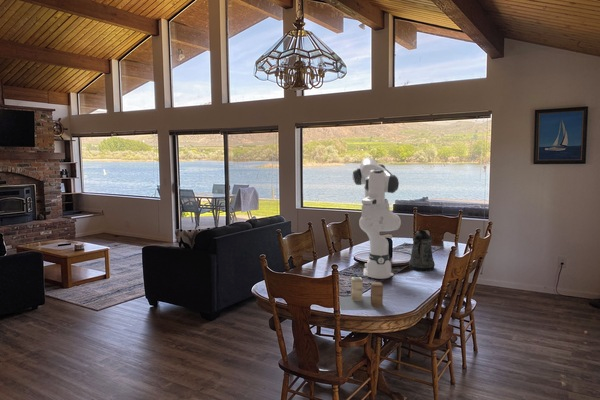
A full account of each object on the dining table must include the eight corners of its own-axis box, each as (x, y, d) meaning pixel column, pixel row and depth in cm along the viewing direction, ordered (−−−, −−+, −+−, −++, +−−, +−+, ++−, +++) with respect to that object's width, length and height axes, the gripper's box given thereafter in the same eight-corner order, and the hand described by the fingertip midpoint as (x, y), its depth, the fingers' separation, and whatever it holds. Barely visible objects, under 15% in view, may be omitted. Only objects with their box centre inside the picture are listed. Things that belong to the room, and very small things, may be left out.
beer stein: (432, 265, 295) (434, 229, 292) (436, 273, 276) (438, 234, 273) (407, 264, 298) (409, 228, 295) (409, 272, 279) (411, 233, 276)
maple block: (351, 297, 230) (351, 276, 229) (360, 297, 230) (361, 276, 229) (352, 300, 225) (353, 279, 224) (362, 300, 225) (362, 279, 224)
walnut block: (370, 303, 221) (371, 282, 220) (380, 303, 222) (380, 282, 220) (372, 306, 216) (373, 285, 215) (382, 306, 217) (383, 285, 215)
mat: (336, 297, 231) (336, 296, 231) (377, 297, 232) (377, 296, 232) (341, 310, 212) (341, 309, 212) (386, 310, 213) (386, 309, 213)
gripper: (383, 198, 242) (382, 222, 244) (359, 200, 228) (359, 226, 230) (392, 199, 238) (391, 224, 239) (369, 201, 224) (368, 228, 225)
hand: (375, 225), depth 234 cm, fingers open, 8 cm apart
